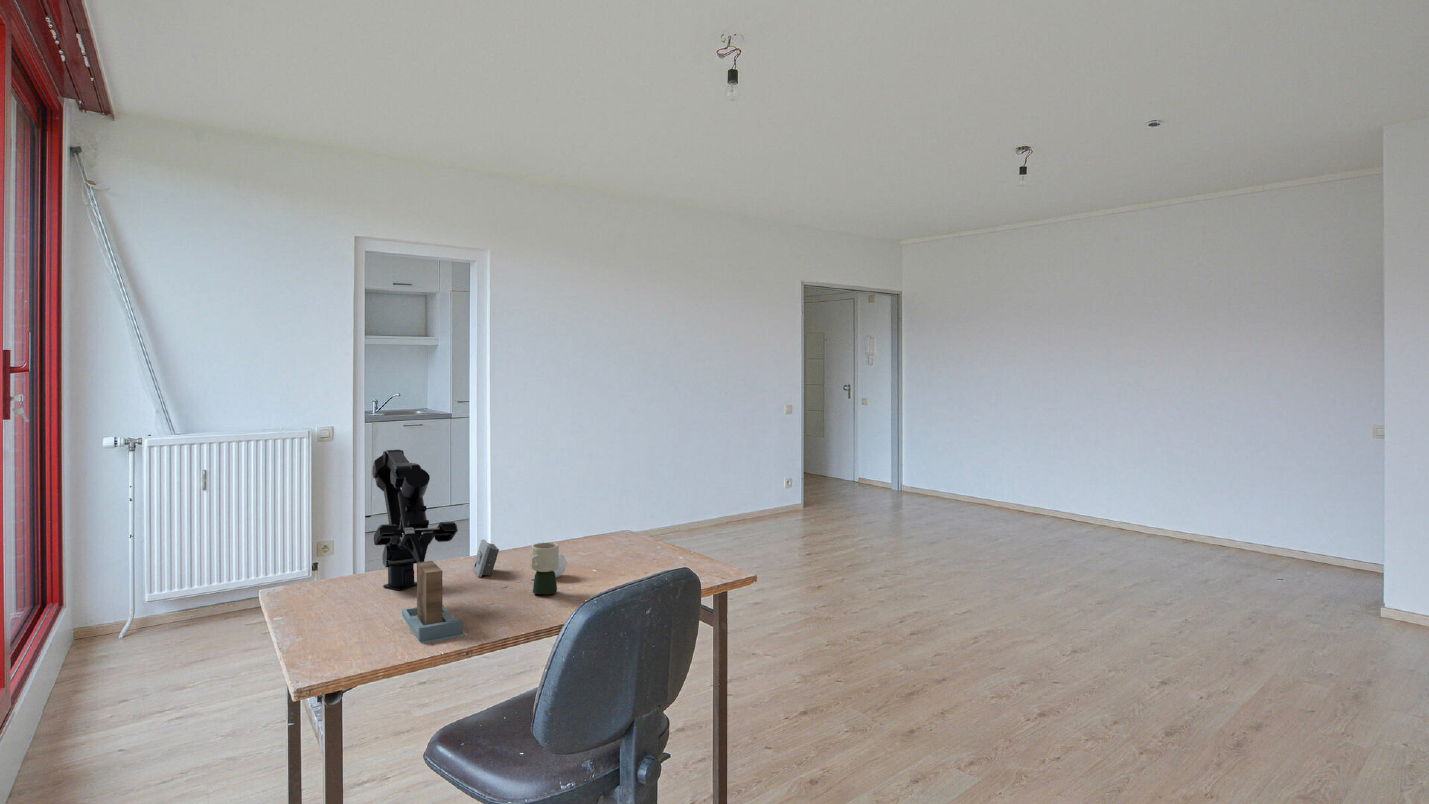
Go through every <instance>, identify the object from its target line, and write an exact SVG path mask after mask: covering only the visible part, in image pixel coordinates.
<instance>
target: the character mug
mask: <svg viewBox="0 0 1429 804" xmlns="http://www.w3.org/2000/svg"><path fill="white" fill-rule="evenodd" d="M559 547H560V546H559V544H558V543H556V542H550V541H549V542H538V543H537V542H536V543H534V544H532V545H531V554H530V556H531V563H530V567H531V569H532V570H533V571H536V572H535V574H534V579H533V585H532V586H533V587H532V593H533V594H535V595H536V594H537V595H541V596H543V595H551V594H552V595H553V594H555V593H557V592H558V585H557V583H558V582H557V578H556V576H555V572H554V570H556V569H558V566H559V551H560V550H559V549H560V548H559Z"/></svg>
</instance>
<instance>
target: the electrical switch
mask: <svg viewBox="0 0 1429 804" xmlns="http://www.w3.org/2000/svg"><path fill="white" fill-rule="evenodd" d="M499 550H500V549H499V548H498V547H497V545H495V544H494V543H489V542H488V541H487V540H486V539H483V538H482V539H481V540H480V544H479V546H478V550H477V553H476V556H475V560H474V563H473V565H472V566H473V567H472V570H473V572H474V574H475V575H476V576H477V577H478V578H482V576H489V577H490V576H491V577H492V574H493V571H494V569H495V565H496V561H497V558H498V555H499Z"/></svg>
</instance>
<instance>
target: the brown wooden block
mask: <svg viewBox="0 0 1429 804" xmlns="http://www.w3.org/2000/svg"><path fill="white" fill-rule="evenodd" d="M416 582H417V585H416V607H417V617H418V619H419V620H420V621H421V623H422V624H423V625H429V624H435V623H441V622H442V605H443V569H441V568H440V567H439V566H438V565H437V564H436V563H435V562H434V561H433V560H428V561H424V562H419V563H416Z"/></svg>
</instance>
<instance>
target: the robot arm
mask: <svg viewBox="0 0 1429 804" xmlns="http://www.w3.org/2000/svg"><path fill="white" fill-rule="evenodd" d="M371 470H372V471H371V472H372V473H371V474H372V478H373V479H375V484H376V487H377V488H379V489H380V490H381V491H382V492H383V494H384V502H385V507H386V508H385V509H386V513H387V514H386V516H387V519H388V524H387V523H386V524H380V525H379V526H378V527H377V529H376V531H375V532H374V534H373V544H374V545H375V546H384V548H383V552H382V556H381V557H382V565H383V566H384V567H385V568H387V573H388V574H387V580H388V581H387V583H386V584H383V585H382V588H385V589H390V590H396V591H402V590H406V589H408V588H411V587H415V586H417V581H415V567H414V565H415V564H417V563H419V562H425V561H426V560H425V559H426V555H427V550H428V546H429V545H430V544H431V543H432V541H433V540H435V541H437V542H438V543H441V542H442V543H444V542H450V541H452V540H453V538H454V537H455V536H456V534H457V532H458V531H459V530H458V525H457V523H456V522H454V521H446V522H443V521H442V522H439V524H438V525H437V527H429V526H430V520H429V519H427V514H426V511H427V505H425V502H424V496H425V494H426V492H427V488H428V485H429V483H430V482H429V481H430V474H429V473H428V472H427V471H426V470H425V469H423V468H422V467H421V465H420V464H418V463H414V462H410V461H409V460H408V458H407V457H406V456H405V453H404V450H403V449H386V450H383V452H382V454H381V456H379V457H378V458H376V459H375V460H374V461H373V465H372V469H371Z"/></svg>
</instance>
